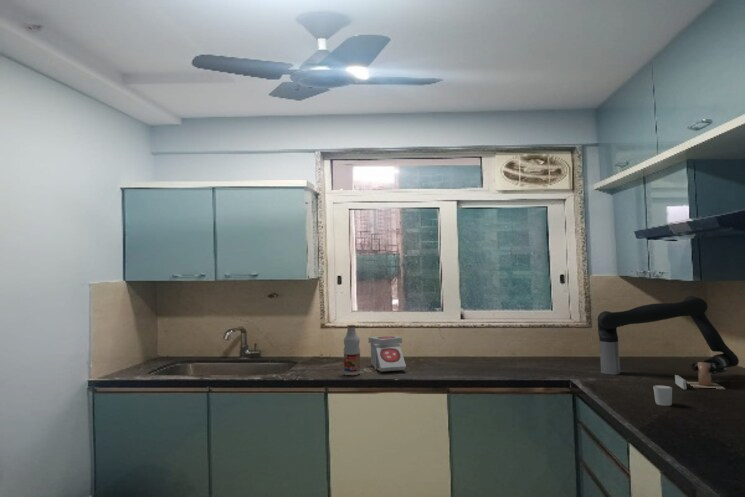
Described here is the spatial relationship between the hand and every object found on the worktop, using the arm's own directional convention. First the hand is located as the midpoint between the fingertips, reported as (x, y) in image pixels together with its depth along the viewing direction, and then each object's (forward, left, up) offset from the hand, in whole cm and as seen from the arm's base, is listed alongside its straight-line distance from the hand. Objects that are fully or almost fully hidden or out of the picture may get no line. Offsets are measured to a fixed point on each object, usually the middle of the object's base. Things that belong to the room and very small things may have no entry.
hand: (702, 369), depth 225 cm
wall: (+1, -10, -8) cm, 13 cm away
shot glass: (+35, -26, -8) cm, 44 cm away
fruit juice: (+2, -175, -8) cm, 175 cm away
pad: (-2, +1, -8) cm, 8 cm away
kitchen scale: (-17, -159, -8) cm, 160 cm away
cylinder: (-2, +1, -7) cm, 8 cm away
